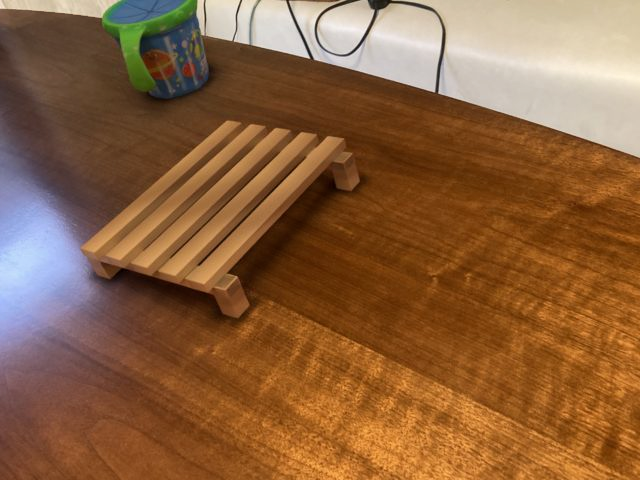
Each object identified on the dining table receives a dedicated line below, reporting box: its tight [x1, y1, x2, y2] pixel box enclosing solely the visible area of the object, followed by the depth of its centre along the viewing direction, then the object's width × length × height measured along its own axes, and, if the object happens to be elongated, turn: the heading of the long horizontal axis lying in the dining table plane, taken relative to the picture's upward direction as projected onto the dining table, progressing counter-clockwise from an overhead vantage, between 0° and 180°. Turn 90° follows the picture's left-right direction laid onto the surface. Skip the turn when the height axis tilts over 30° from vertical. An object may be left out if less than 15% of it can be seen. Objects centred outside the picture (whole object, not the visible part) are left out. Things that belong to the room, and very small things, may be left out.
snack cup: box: [101, 0, 210, 100], centre depth 89 cm, size 16×10×10 cm
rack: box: [79, 120, 361, 319], centre depth 68 cm, size 16×20×4 cm
